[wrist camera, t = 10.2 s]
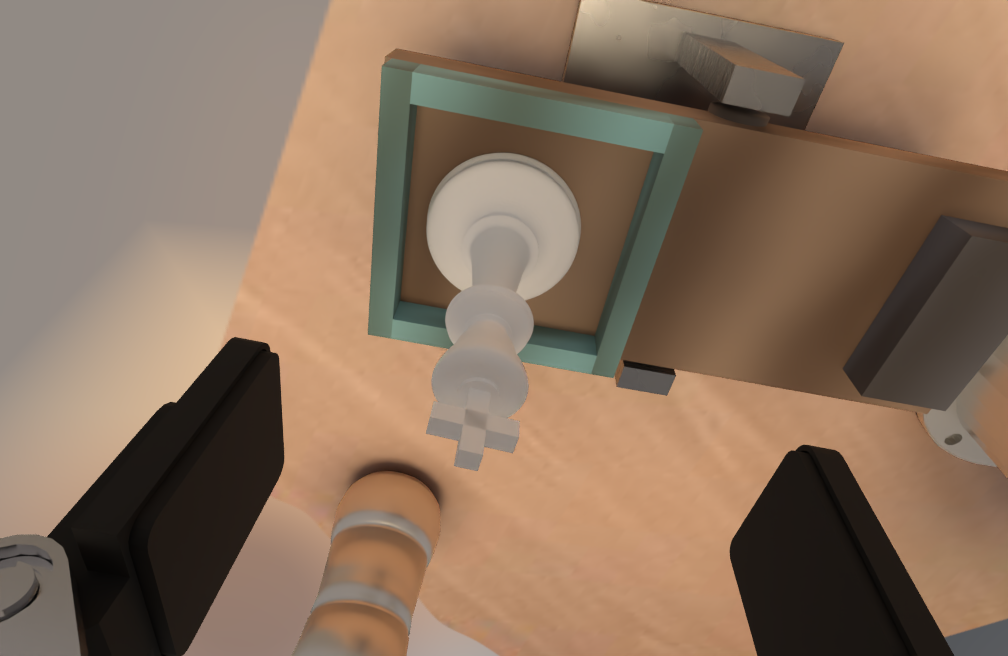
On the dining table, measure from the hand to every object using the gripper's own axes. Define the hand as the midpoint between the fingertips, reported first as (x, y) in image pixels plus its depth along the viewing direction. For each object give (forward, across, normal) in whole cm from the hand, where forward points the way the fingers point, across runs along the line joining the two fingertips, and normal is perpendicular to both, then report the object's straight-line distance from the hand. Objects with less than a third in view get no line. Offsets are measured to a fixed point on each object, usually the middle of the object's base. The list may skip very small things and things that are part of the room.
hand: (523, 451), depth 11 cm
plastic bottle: (+18, +5, +24) cm, 30 cm away
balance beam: (+11, -5, 0) cm, 12 cm away
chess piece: (+10, +1, 0) cm, 10 cm away
